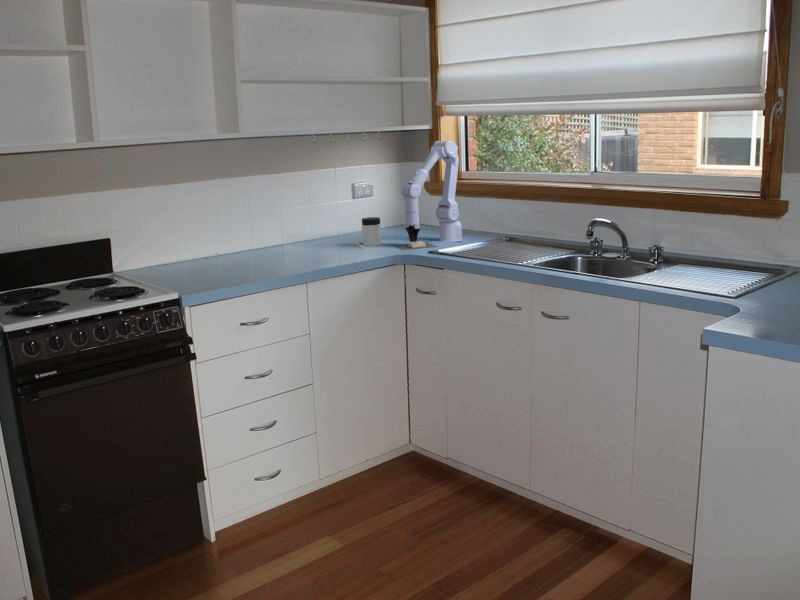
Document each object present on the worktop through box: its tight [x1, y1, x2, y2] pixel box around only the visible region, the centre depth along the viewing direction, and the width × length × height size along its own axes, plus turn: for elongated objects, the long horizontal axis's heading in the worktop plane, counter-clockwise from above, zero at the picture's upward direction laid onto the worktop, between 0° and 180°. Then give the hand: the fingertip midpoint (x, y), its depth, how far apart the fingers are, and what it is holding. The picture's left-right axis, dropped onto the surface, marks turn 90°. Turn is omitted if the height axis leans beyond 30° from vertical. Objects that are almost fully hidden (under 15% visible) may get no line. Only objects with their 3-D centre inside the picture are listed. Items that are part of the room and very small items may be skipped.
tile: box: [406, 240, 426, 248], centre depth 345 cm, size 6×2×7 cm
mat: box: [392, 241, 439, 251], centre depth 347 cm, size 16×16×1 cm
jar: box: [361, 216, 382, 246], centre depth 357 cm, size 9×8×12 cm
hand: (413, 243), depth 349 cm, fingers closed
